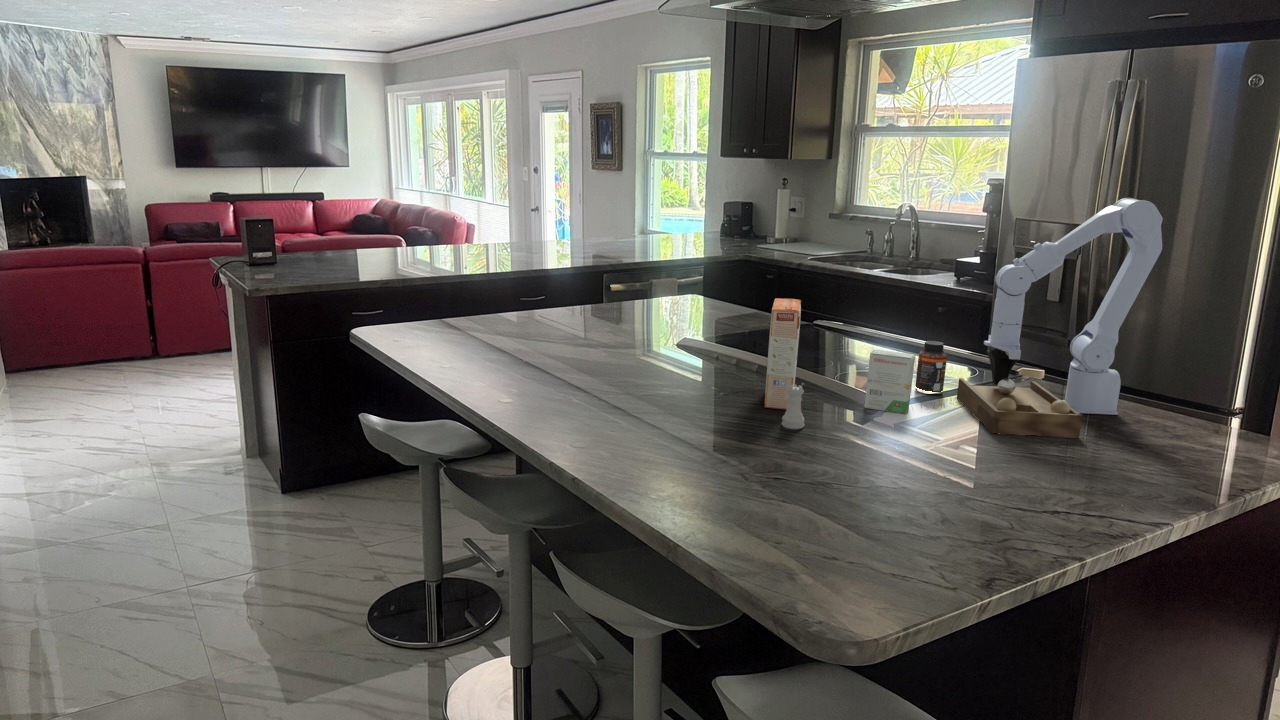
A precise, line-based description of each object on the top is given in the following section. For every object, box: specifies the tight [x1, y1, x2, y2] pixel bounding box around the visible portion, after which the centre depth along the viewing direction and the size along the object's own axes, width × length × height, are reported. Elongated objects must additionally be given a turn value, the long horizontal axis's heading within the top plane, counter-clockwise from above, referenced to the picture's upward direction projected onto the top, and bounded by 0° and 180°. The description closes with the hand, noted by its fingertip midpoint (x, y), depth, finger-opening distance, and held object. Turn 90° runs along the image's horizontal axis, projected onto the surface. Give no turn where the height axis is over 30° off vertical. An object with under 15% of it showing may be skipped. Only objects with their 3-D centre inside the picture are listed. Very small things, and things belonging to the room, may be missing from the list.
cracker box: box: [764, 297, 802, 411], centre depth 179 cm, size 14×6×21 cm, turn 168°
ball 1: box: [997, 398, 1016, 411], centre depth 165 cm, size 3×3×3 cm
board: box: [956, 377, 1083, 439], centre depth 174 cm, size 16×24×4 cm, turn 176°
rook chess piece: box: [781, 384, 805, 430], centre depth 164 cm, size 4×4×8 cm
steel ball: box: [997, 377, 1016, 395], centre depth 179 cm, size 3×3×3 cm
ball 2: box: [1050, 399, 1070, 414], centre depth 164 cm, size 3×3×3 cm
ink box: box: [864, 349, 916, 415], centre depth 177 cm, size 9×5×12 cm, turn 65°
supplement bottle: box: [914, 340, 948, 392], centre depth 190 cm, size 6×6×11 cm
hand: (998, 384), depth 184 cm, fingers closed
